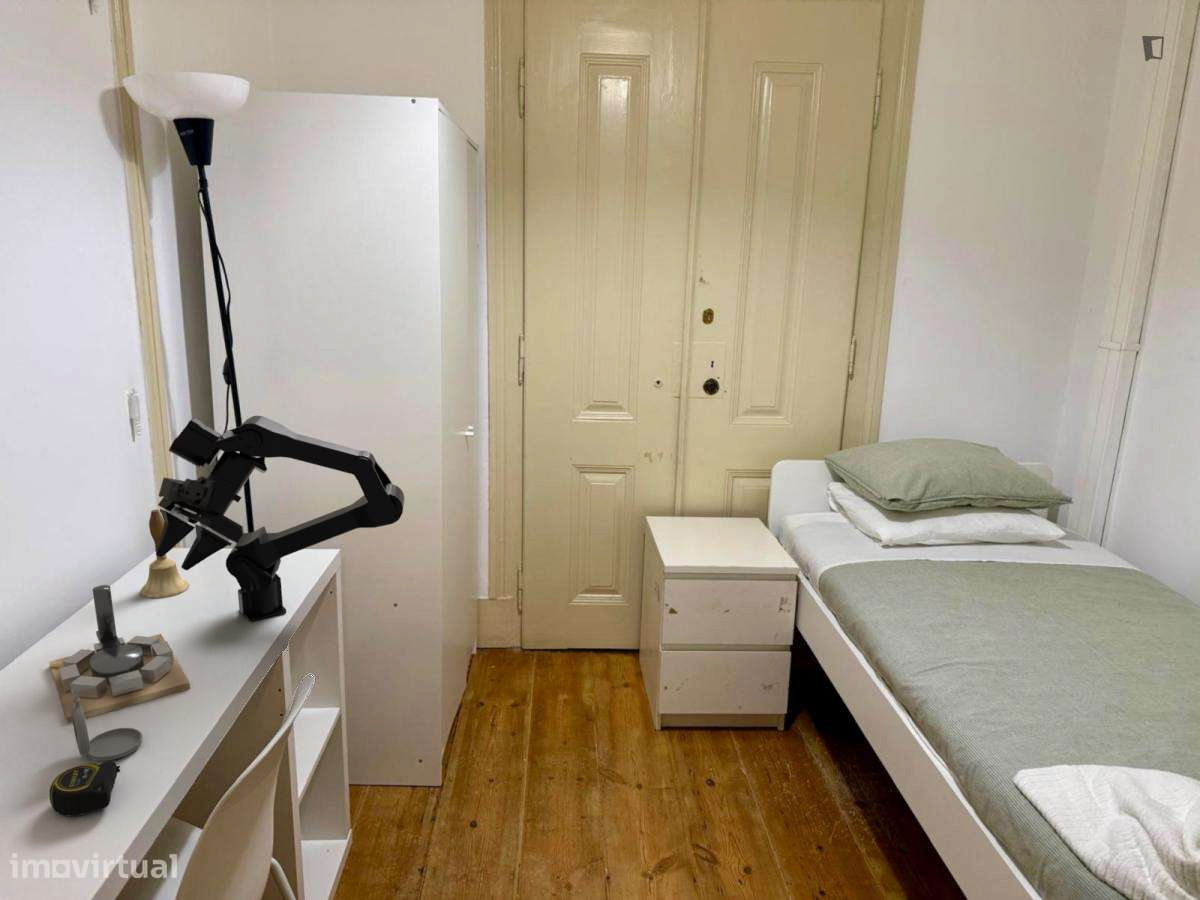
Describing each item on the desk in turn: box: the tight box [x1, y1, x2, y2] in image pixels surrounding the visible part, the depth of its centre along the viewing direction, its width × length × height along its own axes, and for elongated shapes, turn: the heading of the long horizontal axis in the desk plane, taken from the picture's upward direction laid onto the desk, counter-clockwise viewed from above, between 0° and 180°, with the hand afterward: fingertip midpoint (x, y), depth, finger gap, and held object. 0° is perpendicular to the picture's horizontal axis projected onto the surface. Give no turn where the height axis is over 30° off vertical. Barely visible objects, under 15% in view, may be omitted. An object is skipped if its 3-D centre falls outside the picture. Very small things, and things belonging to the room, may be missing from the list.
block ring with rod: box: [59, 584, 174, 698], centre depth 131 cm, size 15×18×11 cm
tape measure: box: [49, 760, 121, 817], centre depth 104 cm, size 7×7×4 cm
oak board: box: [49, 633, 191, 724], centre depth 132 cm, size 16×19×1 cm
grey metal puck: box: [90, 644, 144, 685], centre depth 131 cm, size 7×7×3 cm
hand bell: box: [140, 509, 190, 599], centre depth 160 cm, size 8×8×16 cm
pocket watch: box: [71, 689, 143, 762], centre depth 113 cm, size 8×8×10 cm
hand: (170, 562), depth 141 cm, fingers open, 9 cm apart
